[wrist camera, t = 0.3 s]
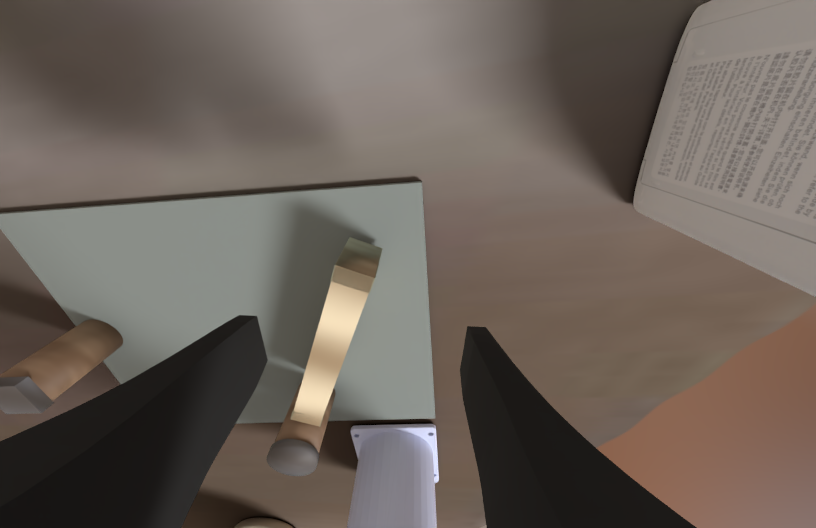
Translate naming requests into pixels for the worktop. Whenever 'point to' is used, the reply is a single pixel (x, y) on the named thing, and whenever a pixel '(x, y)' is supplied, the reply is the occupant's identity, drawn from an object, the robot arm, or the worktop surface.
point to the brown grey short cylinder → (298, 443)
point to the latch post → (56, 367)
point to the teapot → (262, 523)
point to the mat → (248, 285)
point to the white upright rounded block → (740, 137)
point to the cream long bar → (336, 327)
